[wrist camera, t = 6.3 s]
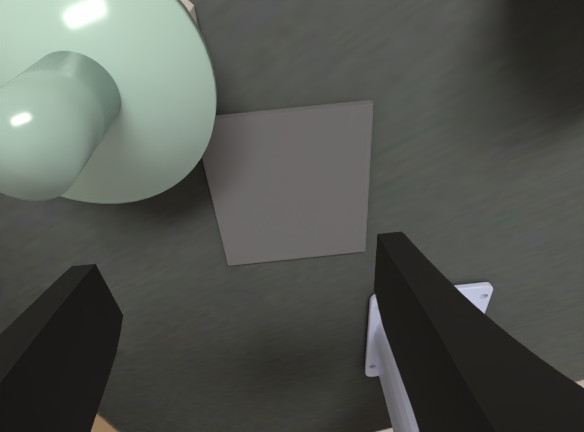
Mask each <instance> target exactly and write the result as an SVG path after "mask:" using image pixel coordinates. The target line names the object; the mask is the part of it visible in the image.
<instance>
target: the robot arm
mask: <svg viewBox="0 0 584 432" xmlns="http://www.w3.org/2000/svg"><path fill="white" fill-rule="evenodd" d="M374 291H375V294H374V295H372V296H371V297H370V303H369V317H368V331H367V346H366V360H365V373H366V375H367V376H369V377H374V376H379V378H380V382H381V385H382V389H383V393H384V397H385V401H386V405H387V408H388V412H389V416H390V420H391V424H392V428H393V431H394V432H584V388H583V387H581V386H580V385H578V384H577V383H575V382H574V381H572V380H571V379H569V378H568V377H566V376H565V375H563V374H562V373H560V372H559V371H557V370H556V369H554V368H553V367H552V366H550V365H549V364H547V363H546V362H545V361H543V360H542V359H541V358H539V357H538V356H536V355H535V354H534V353H532V352H531V351H530V350H529V349H527V348H526V347H525V346H523V345H522V344H521V343H519V342H518V341H517V340H516V339H514V338H513V337H512V336H511V335H509V334H508V333H507V332H506V331H504V330H503V329H502V328H501V327H500V326H498V325H497V324H496V323H495V322H494V321H492V320H491V319H490V318H489V317H488V316H487V315H485V311H486V308H487V305H488V302H489V300H490V297H491V294H492V291H493V287H492V286H491V284H490V283H488V282H481V283H472V284H462V285H453V284H452V283H451V282H450V281H449V280H448V279H447V278H446V277H445V276H444V275H443V274H442V273H441V272H440V271H439V270H438V269H437V268H436V267H435V266H434V265H433V264H432V263H431V262H430V261H429V260H428V259H427V258H426V257H425V256H424V255H423V254H422V253H421V252H420V250H419V249H418V248H417V247H416V246H415V245H414V244H413V243H412V242H411V241H410V240H409V238H408V237H407V236H406V235H405V234H404V233H402V232H394V233H384V234H377V250H376V266H375V282H374ZM122 320H123V314H122V312H121V311H120V309H119V307H118V305H117V303H116V301H115V299H114V298H113V296H112V294H111V292H110V290H109V288H108V286H107V284H106V283H105V281H104V279H103V277H102V275H101V273H100V271H99V270H98V268H97V266H96V264H91V265H81V266H72V267H71V268H69V269H68V270H67V271H66V272H65V273H64V274H63V275H62V276H61V277H59V278H58V279H57V280H56V281H55V282H54V283H53V284H52V285H51V286H50V287H49V288H48V289H47V290H46V291H45V292H44V293H43V294H42V295H41V296H40V297H39V298H38V299H37V300H36V301H35V302H34V303H33V304H31V305H30V306H29V307H28V308H27V309H26V310H25V311H24V312H23V313H22V314H21V315H20V316H19V317H18V318H17V319H16V320H15V321H14V322H13V323H12V324H11V325H10V326H9V327H8V328H6V329H5V330H4V331H3V332H2V333H1V334H0V432H91V429H92V426H93V423H94V419H95V417H96V414H97V411H98V408H99V405H100V402H101V399H102V396H103V393H104V390H105V387H106V384H107V381H108V378H109V374H110V371H111V368H112V365H113V362H114V359H115V356H116V352H117V347H118V342H119V337H120V331H121V326H122Z"/></svg>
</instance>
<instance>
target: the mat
mask: <svg viewBox="0 0 584 432" xmlns="http://www.w3.org/2000/svg"><path fill="white" fill-rule="evenodd" d="M372 119H373V102H372V100H364V101H354V102H344V103H334V104H324V105H314V106H304V107H294V108H284V109H274V110H264V111H254V112H244V113H234V114H224V115H215V120H214V125H213V130H212V134H211V137H210V140H209V143H208V146H207V148H206V150H205V152H204V153H203V155H202V160H203V164H204V168H205V172H206V176H207V181H208V185H209V189H210V193H211V197H212V201H213V205H214V209H215V213H216V217H217V221H218V226H219V230H220V234H221V238H222V242H223V246H224V250H225V254H226V258H227V262H228V266H231V265H241V264H250V263H260V262H269V261H279V260H289V259H298V258H308V257H318V256H327V255H337V254H347V253H356V252H365V249H366V230H367V212H368V193H369V175H370V156H371V138H372Z"/></svg>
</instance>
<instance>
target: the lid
mask: <svg viewBox="0 0 584 432" xmlns="http://www.w3.org/2000/svg"><path fill="white" fill-rule="evenodd" d="M216 109H217V83H216V75H215V70H214V66H213V61H212V58H211V55H210V52H209V49H208V47H207V44H206V41H205V39H204V37H203V35H202V33H201V31H200V29H199V27H198V25H197V23H196V22H195V20H194V19H193V17H192V16H191V14H190V12H189V11H188V9H187V8H186V6H185V5H184V4H183V3H182V1H181V0H0V192H1V193H3V194H6V195H8V196H11V197H15V198H18V199H24V200H32V201H42V200H49V199H53V198H56V197H58V196H61V197H65V198H68V199H72V200H78V201H83V202H90V203H102V204H113V203H126V202H134V201H138V200H142V199H146V198H149V197H152V196H154V195H157V194H160V193H162V192H164V191H165V190H167V189H169V188H171V187H173V186H174V185H175V184H177V183H178V182H180V181H181V180H182V179H184V178H185V177H186V176H187V175H188V174H189V173H190V172H191V171H192V170H193V168H194V167H195V166H196V164H197V163H198V162H199V160H200V159H201V157H202V155H203V153H204V152H205V150H206V148H207V146H208V143H209V140H210V137H211V134H212V130H213V125H214V120H215V115H216Z"/></svg>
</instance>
